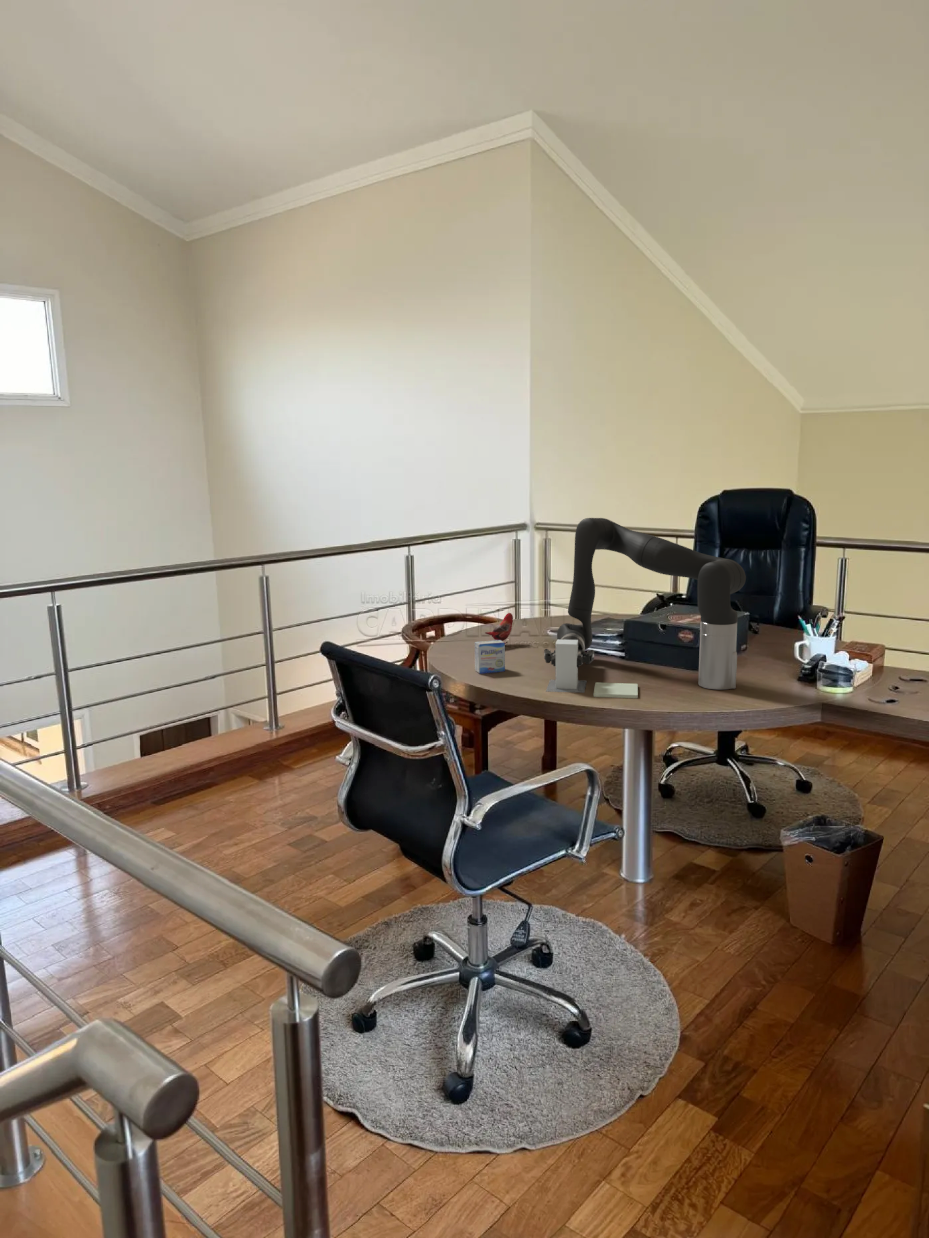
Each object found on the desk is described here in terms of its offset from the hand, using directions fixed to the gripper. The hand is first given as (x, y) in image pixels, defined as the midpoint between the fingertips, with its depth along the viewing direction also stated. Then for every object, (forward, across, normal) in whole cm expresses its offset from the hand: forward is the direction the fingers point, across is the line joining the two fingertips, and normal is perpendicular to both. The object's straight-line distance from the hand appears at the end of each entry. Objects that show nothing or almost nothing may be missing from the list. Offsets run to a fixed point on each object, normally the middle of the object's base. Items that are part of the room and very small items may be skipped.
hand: (566, 662), depth 228 cm
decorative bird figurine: (-48, -25, +7) cm, 55 cm away
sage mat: (+2, +13, +7) cm, 15 cm away
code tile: (-2, 0, +7) cm, 7 cm away
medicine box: (-16, -23, +7) cm, 29 cm away
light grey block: (-2, 0, +7) cm, 7 cm away
